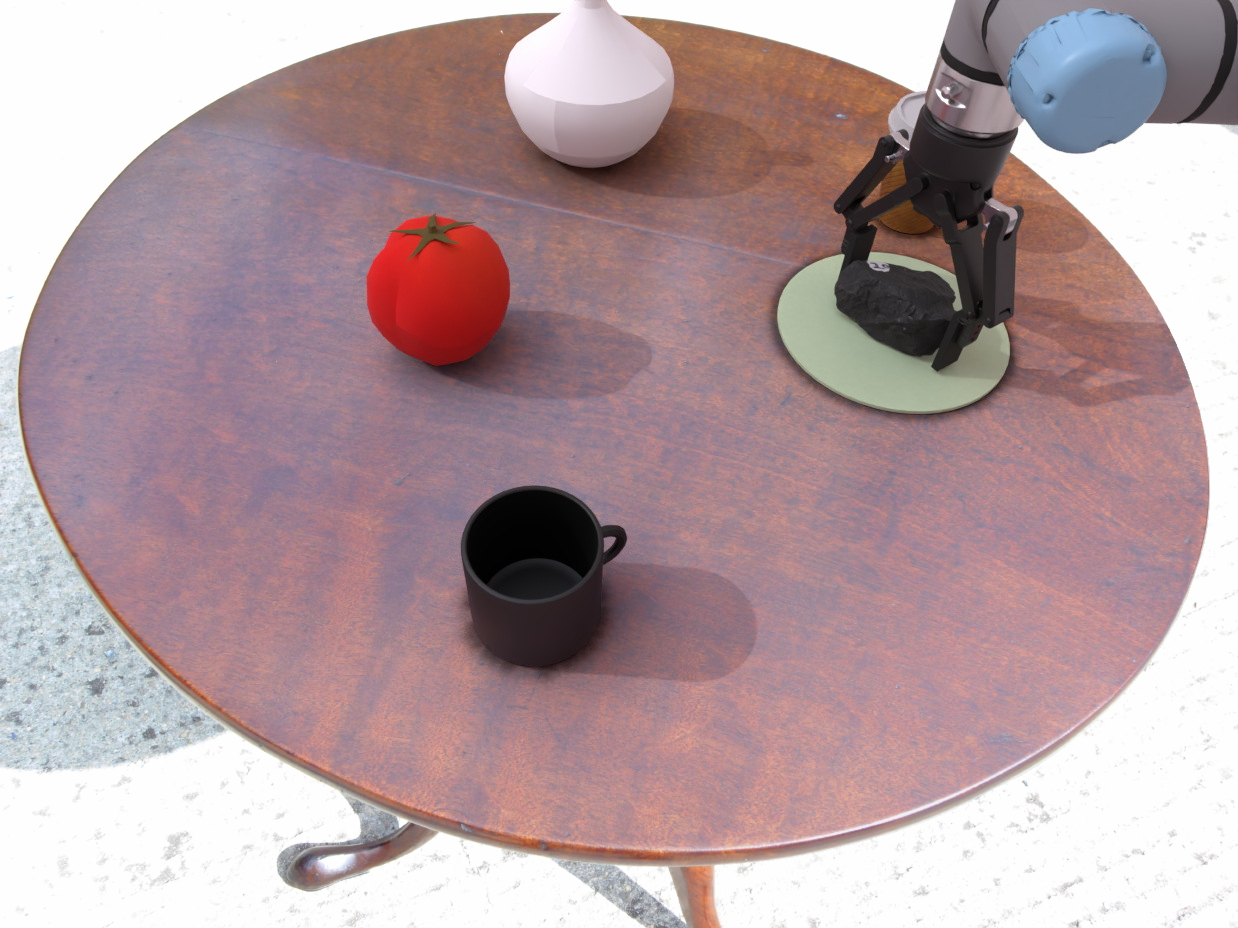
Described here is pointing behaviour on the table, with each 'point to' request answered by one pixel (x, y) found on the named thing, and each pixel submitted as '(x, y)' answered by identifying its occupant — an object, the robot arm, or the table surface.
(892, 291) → the rock
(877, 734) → the table surface
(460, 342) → the tomato
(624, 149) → the vase
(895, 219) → the disposable coffee cup
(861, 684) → the table surface
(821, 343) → the mat
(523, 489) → the mug
